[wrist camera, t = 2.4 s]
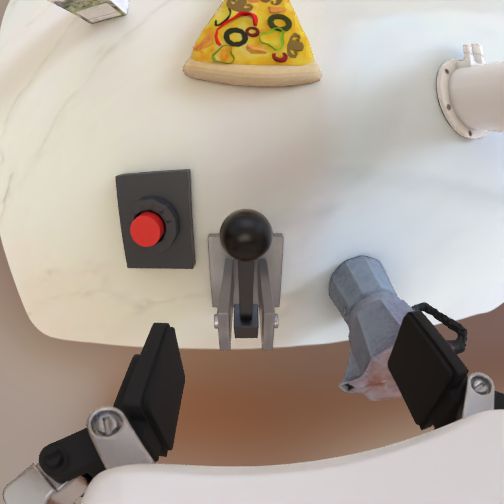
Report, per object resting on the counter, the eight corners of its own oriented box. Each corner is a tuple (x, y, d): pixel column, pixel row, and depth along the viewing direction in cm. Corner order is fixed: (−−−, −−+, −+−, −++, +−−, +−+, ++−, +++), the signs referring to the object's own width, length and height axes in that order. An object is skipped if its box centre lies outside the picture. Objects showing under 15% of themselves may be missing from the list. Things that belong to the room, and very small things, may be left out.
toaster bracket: (209, 233, 34) (191, 284, 23) (282, 233, 35) (301, 284, 23) (213, 302, 38) (202, 369, 26) (278, 302, 38) (290, 369, 27)
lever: (219, 198, 17) (215, 237, 15) (272, 198, 17) (276, 237, 15) (230, 313, 28) (229, 341, 26) (261, 312, 28) (262, 341, 26)
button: (133, 212, 30) (128, 216, 28) (163, 211, 30) (158, 215, 28) (137, 241, 31) (132, 247, 30) (165, 241, 31) (161, 246, 30)
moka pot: (299, 271, 37) (342, 390, 18) (401, 234, 35) (496, 312, 16) (316, 324, 40) (353, 438, 22) (407, 289, 38) (478, 376, 20)
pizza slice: (184, 87, 27) (178, 82, 25) (199, -40, 19) (196, -51, 17) (318, 93, 28) (325, 89, 25) (318, -34, 20) (323, -45, 17)
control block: (121, 174, 31) (108, 178, 28) (190, 169, 31) (183, 172, 28) (131, 262, 36) (122, 274, 32) (195, 263, 36) (190, 275, 33)
